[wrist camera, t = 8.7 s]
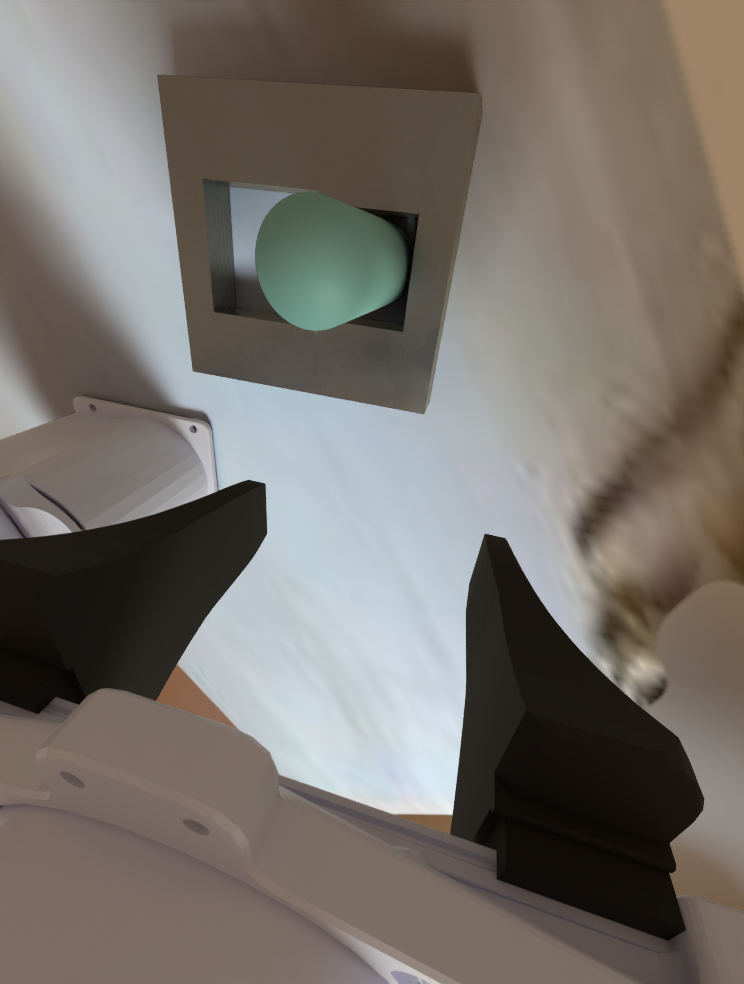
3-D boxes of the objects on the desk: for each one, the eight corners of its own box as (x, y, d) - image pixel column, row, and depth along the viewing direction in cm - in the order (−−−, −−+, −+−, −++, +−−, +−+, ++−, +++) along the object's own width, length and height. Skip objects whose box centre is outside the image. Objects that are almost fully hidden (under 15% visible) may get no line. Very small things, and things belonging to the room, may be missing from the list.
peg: (338, 300, 19) (257, 321, 13) (343, 215, 18) (252, 185, 11) (408, 311, 19) (362, 338, 12) (420, 223, 17) (375, 198, 10)
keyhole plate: (215, 362, 22) (192, 371, 21) (190, 93, 17) (157, 74, 15) (429, 401, 21) (424, 414, 19) (482, 112, 15) (481, 93, 13)
